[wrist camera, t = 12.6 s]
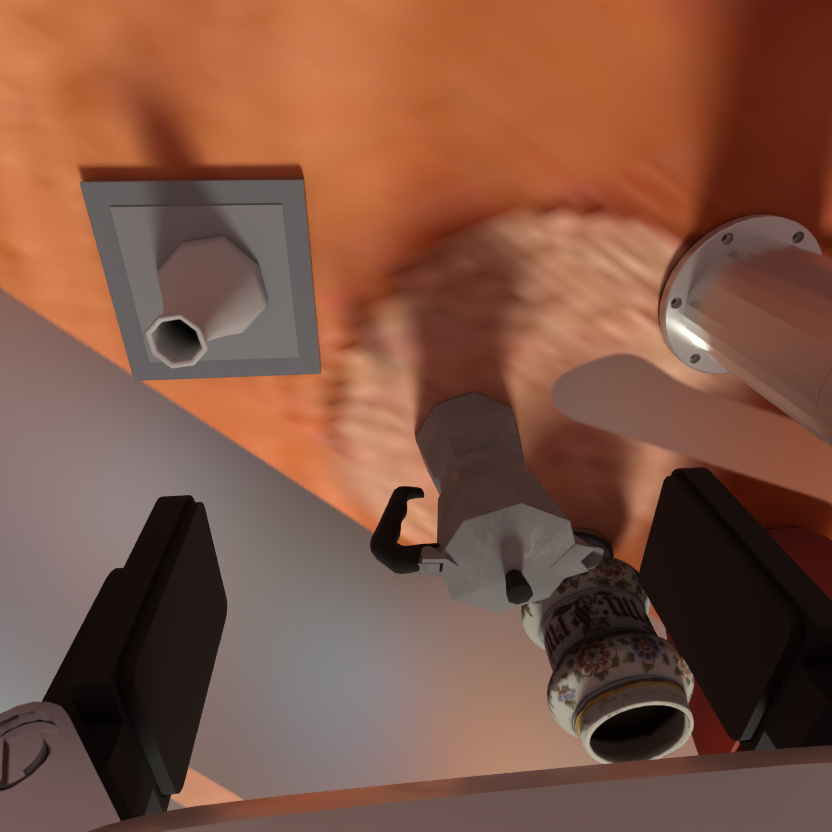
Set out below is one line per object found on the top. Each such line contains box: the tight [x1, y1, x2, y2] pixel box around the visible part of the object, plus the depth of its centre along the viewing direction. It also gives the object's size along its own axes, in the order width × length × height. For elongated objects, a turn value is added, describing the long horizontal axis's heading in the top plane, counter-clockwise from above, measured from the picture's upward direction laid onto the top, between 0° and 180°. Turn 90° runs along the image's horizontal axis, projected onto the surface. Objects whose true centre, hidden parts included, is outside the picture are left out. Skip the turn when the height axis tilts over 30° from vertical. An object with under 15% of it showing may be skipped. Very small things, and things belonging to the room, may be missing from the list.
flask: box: [144, 236, 269, 368], centre depth 35 cm, size 7×7×10 cm
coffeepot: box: [370, 392, 604, 613], centre depth 41 cm, size 15×9×18 cm, turn 85°
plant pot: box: [666, 528, 832, 755], centre depth 53 cm, size 19×19×17 cm
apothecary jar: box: [522, 528, 694, 764], centre depth 50 cm, size 12×12×18 cm
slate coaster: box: [80, 178, 321, 381], centre depth 40 cm, size 14×14×1 cm
